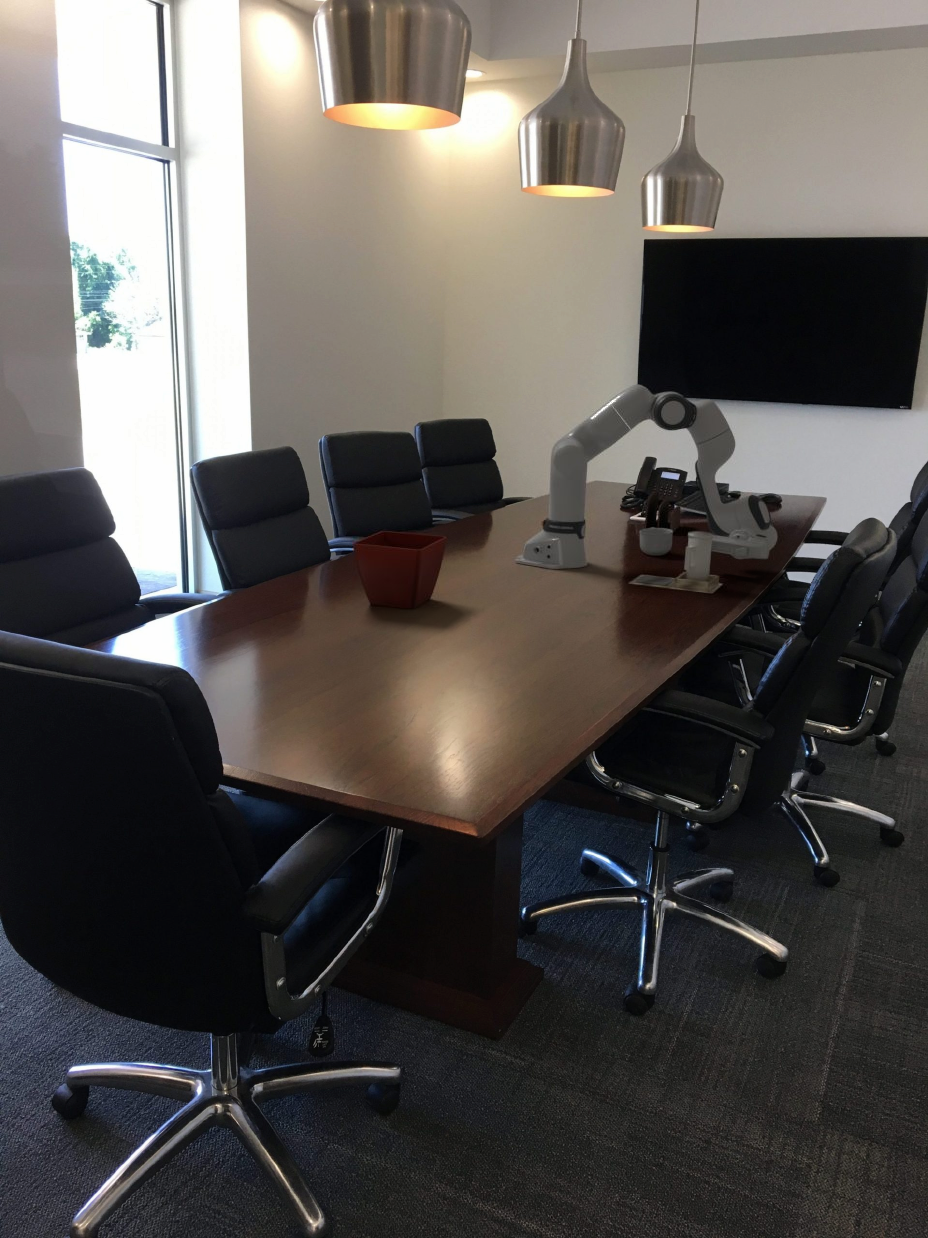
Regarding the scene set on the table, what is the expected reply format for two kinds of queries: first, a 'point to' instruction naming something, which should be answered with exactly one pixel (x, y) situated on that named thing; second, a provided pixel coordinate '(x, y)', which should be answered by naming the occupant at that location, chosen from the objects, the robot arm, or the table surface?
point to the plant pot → (399, 567)
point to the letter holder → (661, 514)
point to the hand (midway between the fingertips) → (719, 550)
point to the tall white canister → (698, 556)
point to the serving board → (679, 583)
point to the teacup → (655, 541)
